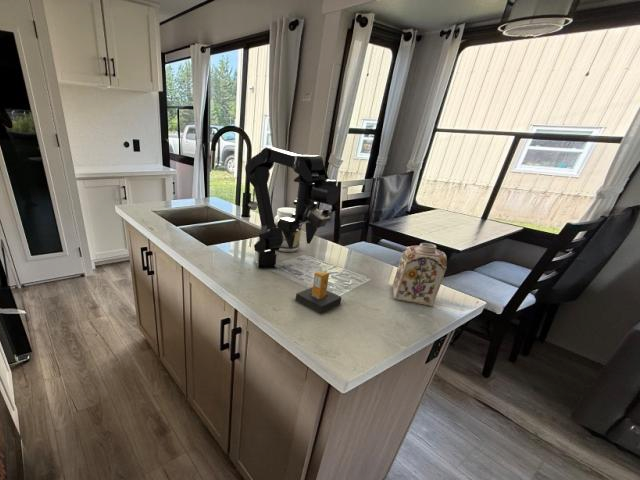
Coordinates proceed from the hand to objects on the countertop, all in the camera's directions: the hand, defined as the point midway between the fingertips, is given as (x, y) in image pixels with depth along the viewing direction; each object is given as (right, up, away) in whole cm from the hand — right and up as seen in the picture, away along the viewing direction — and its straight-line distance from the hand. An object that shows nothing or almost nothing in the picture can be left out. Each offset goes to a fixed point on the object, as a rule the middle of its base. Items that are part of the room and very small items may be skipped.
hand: (299, 245), depth 110 cm
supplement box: (+4, -19, -7) cm, 21 cm away
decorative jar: (+38, -17, 0) cm, 41 cm away
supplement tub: (0, +5, +37) cm, 37 cm away
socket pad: (+4, -19, -7) cm, 21 cm away
